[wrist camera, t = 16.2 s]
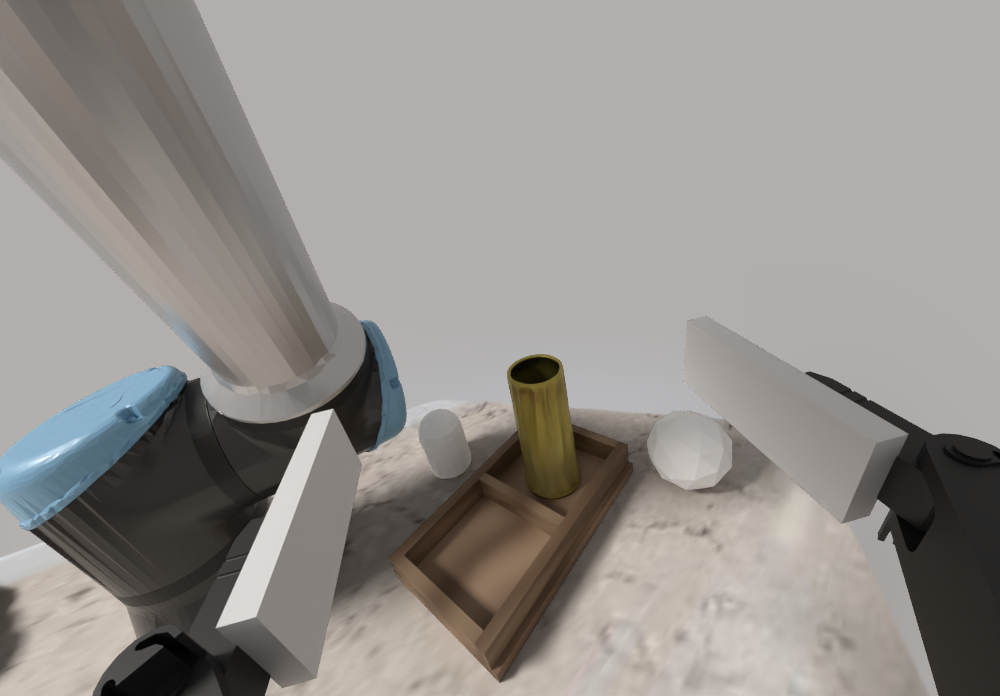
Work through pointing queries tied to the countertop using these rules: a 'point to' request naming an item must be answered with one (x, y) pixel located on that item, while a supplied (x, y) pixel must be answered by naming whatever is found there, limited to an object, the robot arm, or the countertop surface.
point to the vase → (544, 425)
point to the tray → (507, 546)
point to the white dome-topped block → (444, 444)
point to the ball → (690, 450)
